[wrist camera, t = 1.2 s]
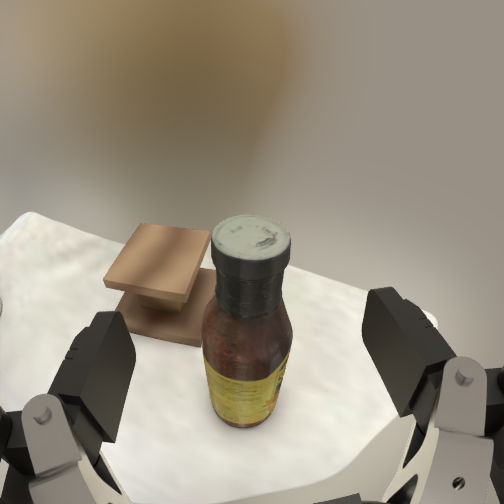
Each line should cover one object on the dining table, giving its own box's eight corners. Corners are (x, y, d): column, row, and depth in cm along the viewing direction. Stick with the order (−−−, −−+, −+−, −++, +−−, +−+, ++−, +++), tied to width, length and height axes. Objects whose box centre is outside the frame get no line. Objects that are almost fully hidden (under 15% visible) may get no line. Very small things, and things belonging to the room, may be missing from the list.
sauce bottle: (282, 422, 26) (343, 276, 13) (218, 435, 24) (199, 298, 12) (263, 367, 30) (292, 200, 18) (205, 377, 29) (185, 209, 16)
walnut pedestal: (113, 328, 33) (93, 280, 27) (145, 267, 41) (135, 220, 36) (200, 347, 32) (193, 300, 27) (220, 278, 40) (219, 229, 35)
